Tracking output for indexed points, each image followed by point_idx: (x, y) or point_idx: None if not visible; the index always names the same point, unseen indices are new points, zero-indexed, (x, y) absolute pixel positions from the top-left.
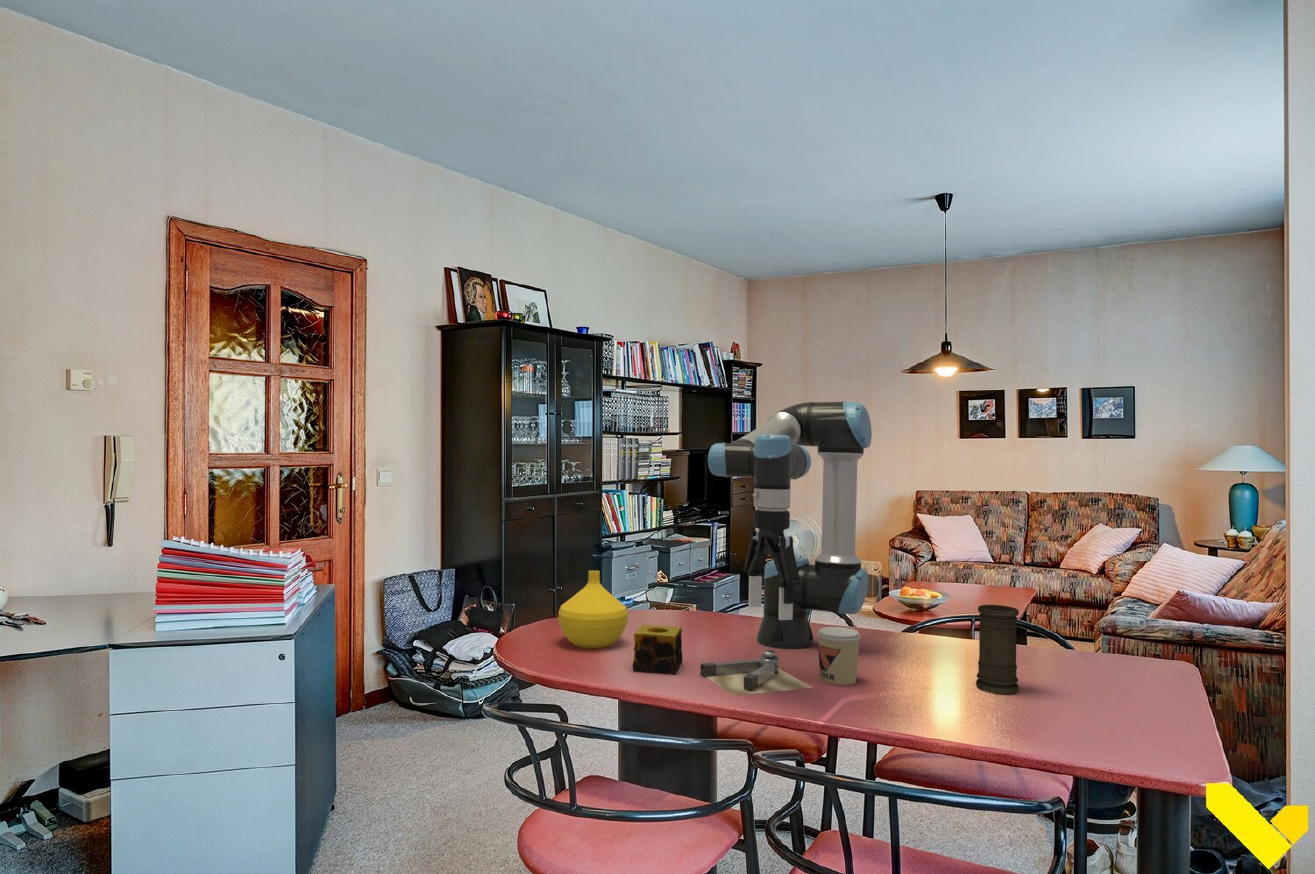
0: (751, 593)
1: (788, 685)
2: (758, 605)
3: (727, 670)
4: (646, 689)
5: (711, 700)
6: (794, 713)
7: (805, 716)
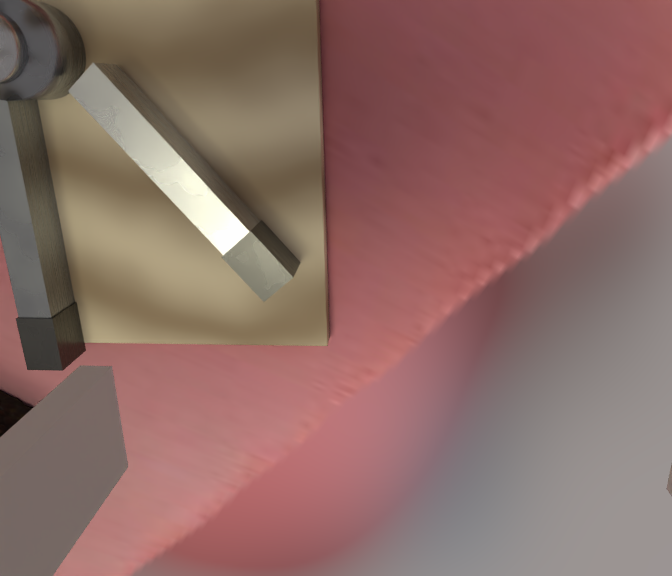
0: (62, 549)
1: (257, 66)
2: (111, 399)
3: (56, 258)
4: (141, 529)
5: (296, 398)
6: (525, 189)
7: (572, 165)
